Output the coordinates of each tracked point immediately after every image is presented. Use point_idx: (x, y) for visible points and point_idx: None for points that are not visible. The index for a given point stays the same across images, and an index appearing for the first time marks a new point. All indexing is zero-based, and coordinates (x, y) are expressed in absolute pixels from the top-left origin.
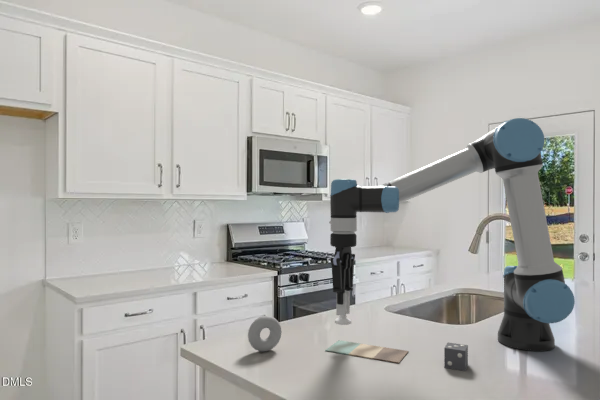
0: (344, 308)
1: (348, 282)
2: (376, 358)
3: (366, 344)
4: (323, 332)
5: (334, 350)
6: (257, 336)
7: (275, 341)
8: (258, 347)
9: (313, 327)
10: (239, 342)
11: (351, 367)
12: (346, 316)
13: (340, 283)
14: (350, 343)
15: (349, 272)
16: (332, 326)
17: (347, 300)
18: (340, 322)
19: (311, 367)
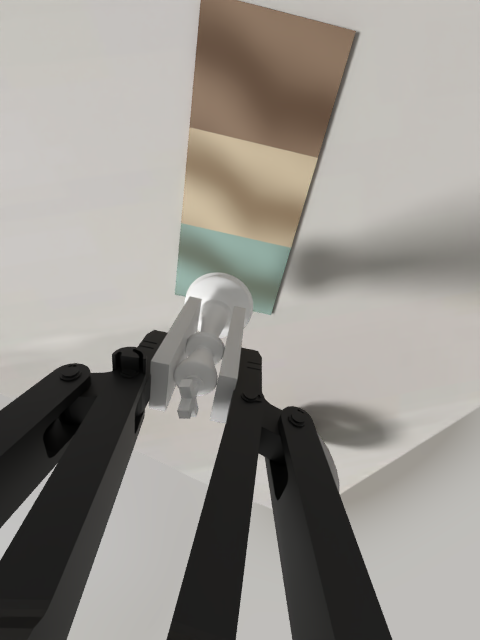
0: (242, 328)
1: (127, 418)
2: (321, 143)
3: (183, 202)
4: (118, 343)
5: (269, 291)
6: (332, 466)
7: None
8: (323, 441)
9: (90, 371)
10: (257, 466)
11: (398, 221)
12: (206, 303)
13: (333, 478)
14: (192, 256)
15: (54, 516)
16: (52, 330)
17: (185, 337)
18: (251, 313)
19: (398, 323)
